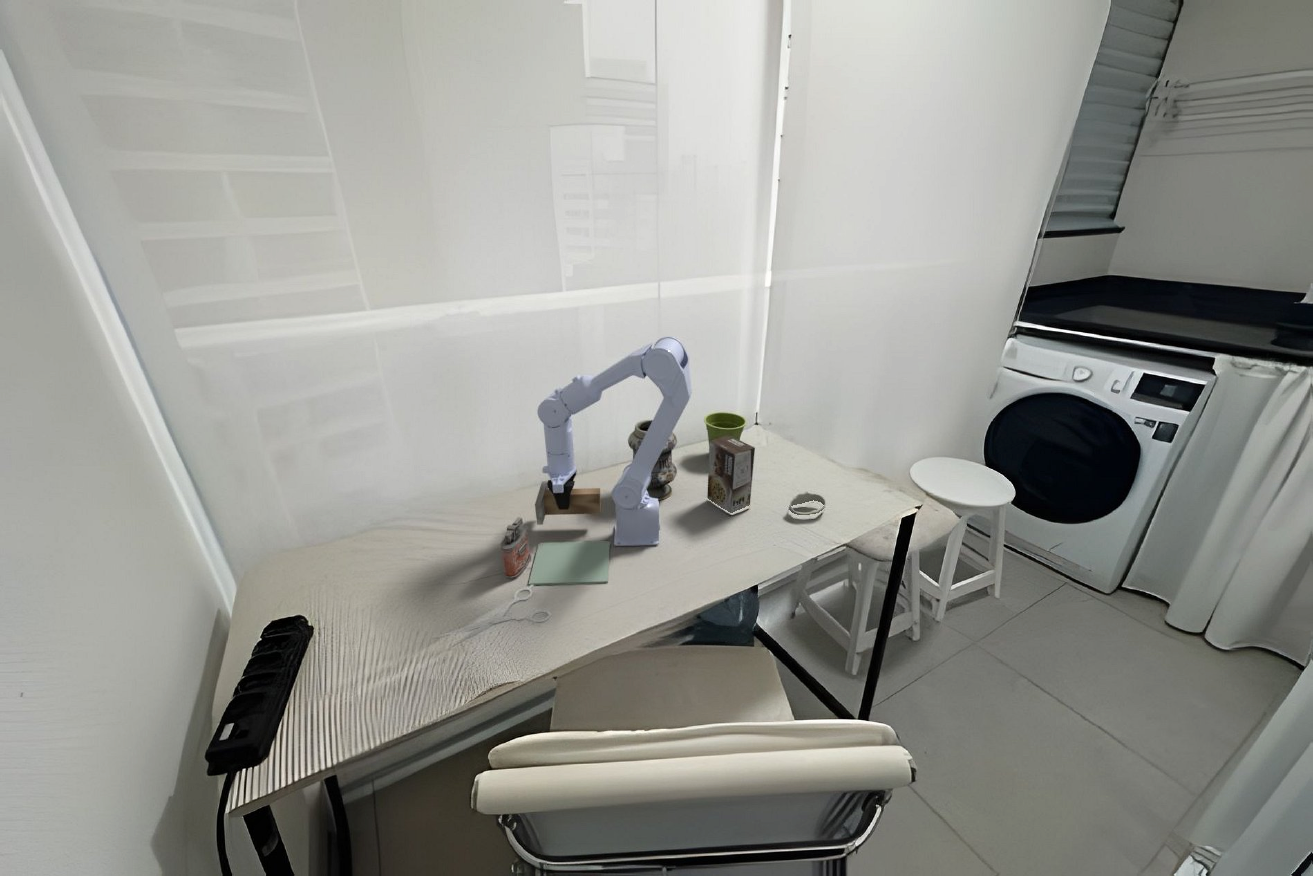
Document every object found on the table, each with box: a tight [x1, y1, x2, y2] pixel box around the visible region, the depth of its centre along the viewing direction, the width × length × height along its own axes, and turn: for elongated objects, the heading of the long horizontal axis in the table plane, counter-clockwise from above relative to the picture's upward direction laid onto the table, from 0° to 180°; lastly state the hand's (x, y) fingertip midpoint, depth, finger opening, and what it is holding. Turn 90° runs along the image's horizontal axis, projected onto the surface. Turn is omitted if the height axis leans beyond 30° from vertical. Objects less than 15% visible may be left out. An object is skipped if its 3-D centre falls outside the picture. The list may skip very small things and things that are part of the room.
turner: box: [534, 480, 602, 526], centre depth 117 cm, size 13×10×5 cm
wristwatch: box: [788, 491, 827, 515], centre depth 124 cm, size 9×6×5 cm
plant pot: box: [703, 411, 748, 443], centre depth 150 cm, size 12×12×11 cm
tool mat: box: [528, 540, 611, 586], centre depth 108 cm, size 15×13×1 cm
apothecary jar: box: [627, 419, 678, 501], centre depth 130 cm, size 12×12×18 cm
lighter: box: [500, 516, 532, 582], centre depth 104 cm, size 8×3×10 cm, turn 168°
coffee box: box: [706, 435, 756, 513], centre depth 125 cm, size 9×6×16 cm
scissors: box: [433, 584, 552, 652], centre depth 93 cm, size 11×1×20 cm
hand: (564, 505), depth 117 cm, fingers closed on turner, 2 cm apart
